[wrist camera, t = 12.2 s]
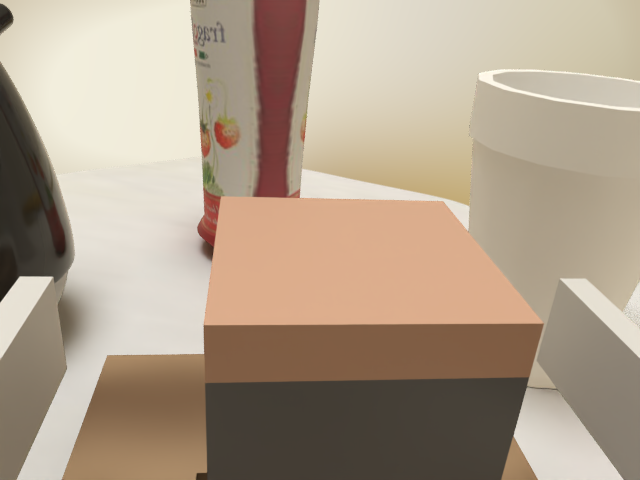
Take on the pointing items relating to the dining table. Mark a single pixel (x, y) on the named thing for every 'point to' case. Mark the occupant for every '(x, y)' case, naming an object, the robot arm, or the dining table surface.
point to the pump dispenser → (28, 196)
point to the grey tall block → (359, 344)
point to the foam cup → (557, 184)
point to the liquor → (252, 97)
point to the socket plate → (163, 423)
